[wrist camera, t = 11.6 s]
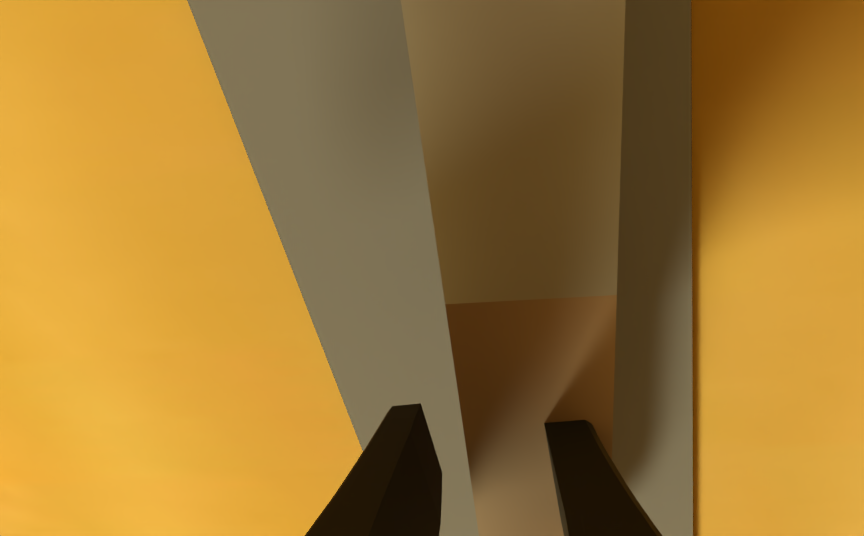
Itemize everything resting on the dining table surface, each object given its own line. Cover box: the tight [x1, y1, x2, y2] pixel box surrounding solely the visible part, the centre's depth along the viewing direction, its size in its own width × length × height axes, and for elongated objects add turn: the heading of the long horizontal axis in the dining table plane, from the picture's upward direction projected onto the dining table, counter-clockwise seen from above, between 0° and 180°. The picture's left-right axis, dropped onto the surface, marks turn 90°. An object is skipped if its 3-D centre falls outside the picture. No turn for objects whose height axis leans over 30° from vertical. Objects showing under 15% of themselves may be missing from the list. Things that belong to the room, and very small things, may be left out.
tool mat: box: [187, 0, 693, 536], centre depth 14 cm, size 22×9×1 cm, turn 13°
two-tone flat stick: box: [401, 0, 626, 536], centre depth 11 cm, size 2×16×4 cm, turn 8°
